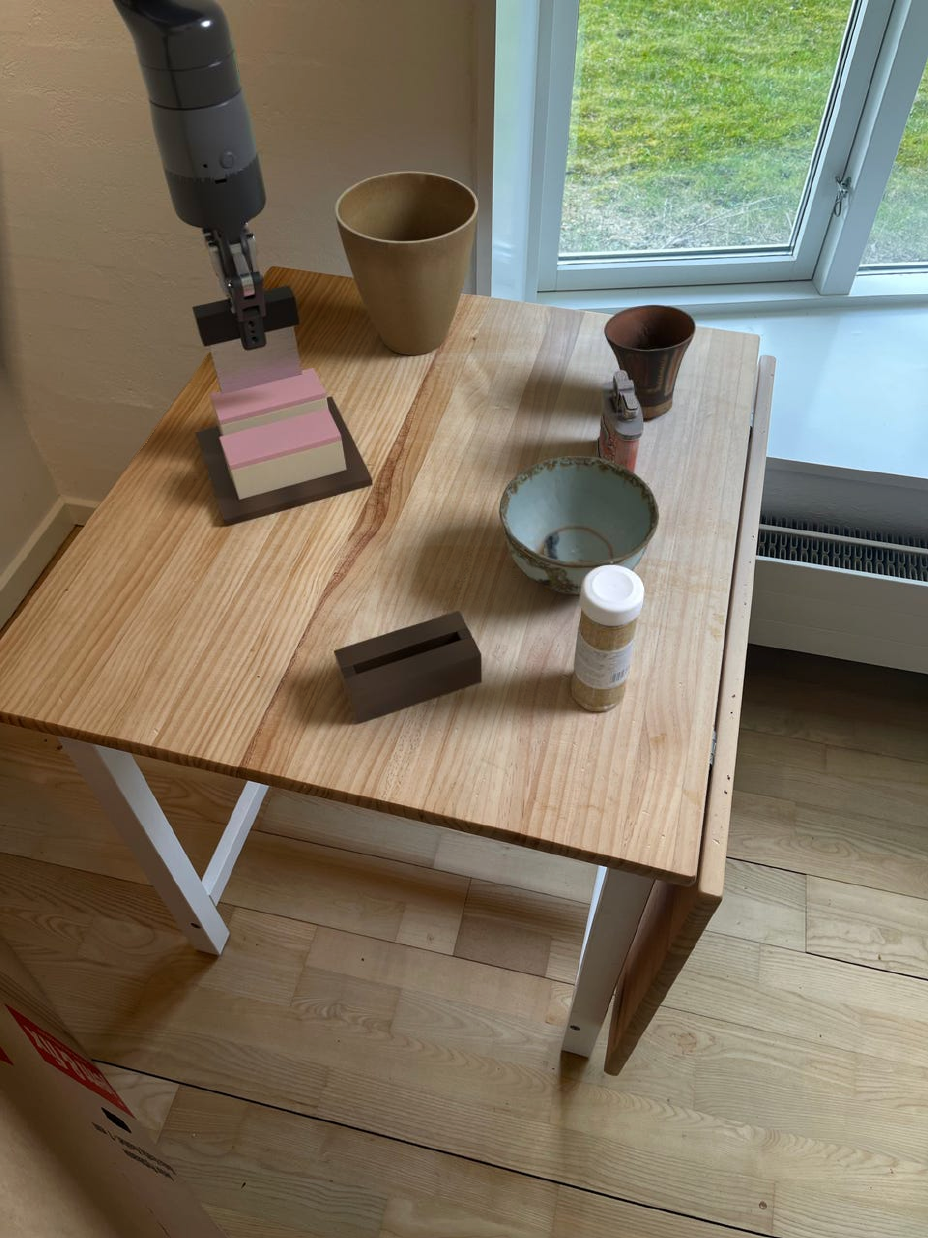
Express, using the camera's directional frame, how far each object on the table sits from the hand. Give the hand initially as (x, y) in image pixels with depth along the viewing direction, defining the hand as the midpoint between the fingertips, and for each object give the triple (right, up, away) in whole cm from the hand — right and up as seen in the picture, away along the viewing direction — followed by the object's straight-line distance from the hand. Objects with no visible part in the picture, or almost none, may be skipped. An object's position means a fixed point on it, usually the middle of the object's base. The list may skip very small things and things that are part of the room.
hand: (251, 338), depth 88 cm
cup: (+39, -3, +14) cm, 41 cm away
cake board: (+1, -10, +9) cm, 14 cm away
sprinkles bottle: (+31, -32, -9) cm, 46 cm away
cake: (+2, -11, +7) cm, 13 cm away
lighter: (+35, -11, +8) cm, 38 cm away
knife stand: (+15, -31, -8) cm, 36 cm away
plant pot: (+14, +7, +23) cm, 28 cm away
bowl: (+30, -22, -1) cm, 37 cm away
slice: (0, -6, +11) cm, 13 cm away
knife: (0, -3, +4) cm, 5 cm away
